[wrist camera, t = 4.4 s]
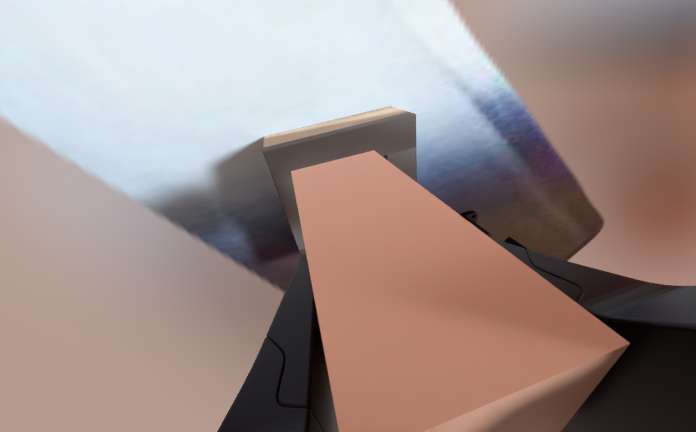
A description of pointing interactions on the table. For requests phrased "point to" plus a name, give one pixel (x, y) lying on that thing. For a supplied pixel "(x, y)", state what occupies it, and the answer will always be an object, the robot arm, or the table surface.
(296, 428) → the robot arm
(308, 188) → the square peg
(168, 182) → the table surface
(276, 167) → the socket block
